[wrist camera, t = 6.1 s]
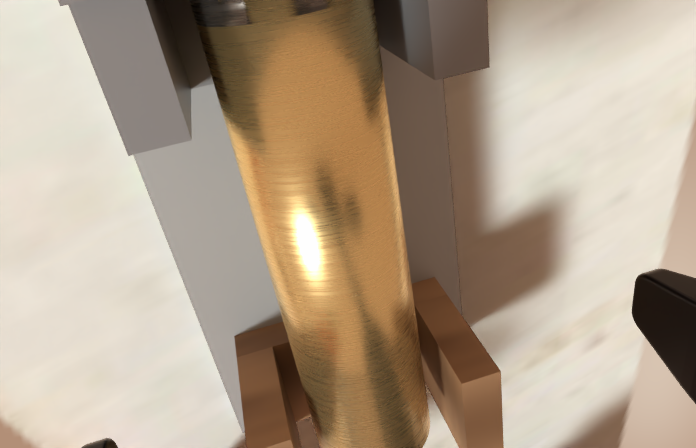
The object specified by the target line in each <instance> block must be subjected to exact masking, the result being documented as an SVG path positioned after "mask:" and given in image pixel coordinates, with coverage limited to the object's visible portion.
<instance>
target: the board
mask: <svg viewBox="0 0 696 448" xmlns="http://www.w3.org/2000/svg"><path fill="white" fill-rule="evenodd" d="M379 46H380V45H379ZM380 54H381V61H382V68H383V76H384V83H385V91H386V98H387V106H388V113H389V120H390V128H391V135H392V143H393V150H394V158H395V165H396V172H397V180H398V187H399V195H400V202H401V210H402V217H403V224H404V232H405V239H406V247H407V254H408V262H409V269H410V276H411V284H413V283H416V282H419V281H423V280H426V279H430V278H433V277H435V278H436V280H437V281H438V282H439V284H440V285H441V287H442V288H443V290H444V291H445V292H446V294H447V295H448V297H449V298H450V300H451V301H452V302H453V304H454V305H455V307H456V308H457V310H458V311H459V312H460V314H461V315H462V309H461V296H460V284H459V271H458V259H457V246H456V234H455V221H454V209H453V196H452V184H451V171H450V158H449V146H448V133H447V121H446V108H445V96H444V83H443V79H439V80H433V79H432V78H430V77H429V76H427V75H425V74H424V73H422V72H421V71H419V70H418V69H416V68H414V67H413V66H411V65H410V64H408V63H406V62H405V61H403V60H402V59H400V58H399V57H397V56H395V55H394V54H392V53H391V52H389V51H387V50H386V49H384V48H383V47H381V46H380ZM191 126H192V140H191V141H187V142H183V143H179V144H175V145H170V146H166V147H162V148H158V149H154V150H150V151H146V152H142V153H138V154H134V158H135V160H136V163H137V165H138V168H139V171H140V173H141V176H142V178H143V181H144V183H145V186H146V188H147V191H148V193H149V196H150V198H151V201H152V204H153V206H154V209H155V211H156V214H157V216H158V219H159V221H160V224H161V226H162V229H163V232H164V234H165V237H166V239H167V242H168V244H169V247H170V249H171V252H172V254H173V257H174V259H175V262H176V265H177V267H178V270H179V272H180V275H181V277H182V280H183V282H184V285H185V287H186V290H187V292H188V295H189V298H190V300H191V303H192V305H193V308H194V310H195V313H196V315H197V318H198V320H199V323H200V326H201V328H202V331H203V333H204V336H205V338H206V341H207V343H208V346H209V348H210V351H211V353H212V356H213V359H214V361H215V364H216V366H217V369H218V371H219V374H220V376H221V379H222V381H223V384H224V387H225V389H226V392H227V394H228V397H229V399H230V402H231V404H232V407H233V409H234V412H235V414H236V417H237V420H238V422H239V425H240V427H241V430H242V432H243V433H244V432H245V429H244V420H243V411H242V402H241V393H240V384H239V375H238V365H237V356H236V347H235V338H234V336H236V335H240V334H243V333H247V332H250V331H253V330H257V329H260V328H263V327H267V326H270V325H274V324H277V323H280V322H283V318H282V315H281V312H280V308H279V305H278V301H277V298H276V295H275V291H274V288H273V284H272V281H271V277H270V274H269V271H268V267H267V264H266V260H265V257H264V254H263V250H262V247H261V243H260V240H259V236H258V233H257V230H256V226H255V223H254V219H253V216H252V213H251V209H250V206H249V202H248V199H247V196H246V192H245V189H244V185H243V182H242V178H241V175H240V172H239V168H238V165H237V161H236V158H235V155H234V151H233V148H232V144H231V141H230V138H229V134H228V131H227V127H226V124H225V120H224V117H223V114H222V110H221V107H220V103H219V100H218V97H217V93H216V90H215V86H214V84H211V85H207V86H202V87H198V88H194V89H191Z"/></svg>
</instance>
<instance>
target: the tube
mask: <svg viewBox="0 0 696 448" xmlns="http://www.w3.org/2000/svg"><path fill="white" fill-rule="evenodd" d="M189 1H190V4H191V8H192V11H193V15H194V18H195V21H196V25H197V28H198V32H199V35H200V39H201V42H202V45H203V49H204V52H205V56H206V59H207V62H208V66H209V69H210V73H211V76H212V79H213V83H214V86H215V90H216V93H217V97H218V100H219V103H220V107H221V110H222V114H223V117H224V120H225V124H226V127H227V131H228V134H229V138H230V141H231V144H232V148H233V151H234V155H235V158H236V161H237V165H238V168H239V172H240V175H241V178H242V182H243V185H244V189H245V192H246V196H247V199H248V202H249V206H250V209H251V213H252V216H253V219H254V223H255V226H256V230H257V233H258V236H259V240H260V243H261V247H262V250H263V254H264V257H265V260H266V264H267V267H268V271H269V274H270V277H271V281H272V284H273V288H274V291H275V295H276V298H277V301H278V305H279V308H280V312H281V315H282V318H283V322H284V325H285V329H286V332H287V335H288V339H289V342H290V346H291V349H292V353H293V356H294V359H295V363H296V366H297V370H298V373H299V376H300V380H301V383H302V387H303V390H304V394H305V397H306V400H307V404H308V407H309V411H310V414H311V417H312V421H313V424H314V428H315V431H316V434H317V438H318V441H319V444H320V447H321V448H422V447H423V445H424V444H425V442H426V439H427V437H428V434H429V428H430V418H429V410H428V403H427V395H426V388H425V381H424V373H423V366H422V358H421V351H420V343H419V336H418V329H417V321H416V314H415V306H414V299H413V291H412V284H411V276H410V269H409V262H408V254H407V247H406V239H405V232H404V224H403V217H402V210H401V202H400V195H399V187H398V180H397V172H396V165H395V158H394V150H393V143H392V135H391V128H390V120H389V113H388V106H387V98H386V91H385V83H384V76H383V68H382V61H381V54H380V46H379V39H378V31H377V24H376V16H375V9H374V2H373V0H189Z"/></svg>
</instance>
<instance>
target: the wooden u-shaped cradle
mask: <svg viewBox="0 0 696 448" xmlns="http://www.w3.org/2000/svg"><path fill="white" fill-rule="evenodd" d="M412 291H413V299H414V306H415V314H416V321H417V329H418V336H419V343H420V351H421V358H422V366H423V373H424V381H425V383H426V384H427V386H428V388H429V390H430V392H431V394H432V396H433V398H434V400H435V402H436V404H437V406H438V408H439V410H440V412H441V413H442V415H443V417H444V419H445V421H446V423H447V425H448V427H449V429H450V431H451V433H452V435H453V437H454V439H455V441H456V442H457V444H458V446H459V448H503V422H502V395H501V371H500V370H499V368H498V367H497V365H496V364H495V363H494V361H493V360H492V358H491V357H490V355H489V354H488V353H487V351H486V350H485V348H484V347H483V345H482V344H481V343H480V341H479V340H478V338H477V337H476V335H475V334H474V333H473V331H472V330H471V328H470V327H469V325H468V324H467V322H466V321H465V320H464V318H463V317H462V315H461V314H460V312H459V311H458V310H457V308H456V307H455V305H454V304H453V302H452V301H451V300H450V298H449V297H448V295H447V294H446V292H445V291H444V290H443V288H442V287H441V285H440V284H439V282H438V281H437V280H436V278H435V277H433V278H430V279H426V280H423V281H419V282H416V283H413V284H412ZM234 338H235V347H236V356H237V365H238V375H239V384H240V393H241V402H242V411H243V420H244V429H245V438H246V447H247V448H302V447H301V443H300V438H299V434H298V429H297V424H296V421H299V420H303V419H306V418H309V417H311V414H310V411H309V407H308V404H307V400H306V397H305V394H304V390H303V387H302V383H301V380H300V376H299V373H298V370H297V366H296V363H295V359H294V356H293V353H292V349H291V346H290V342H289V339H288V335H287V332H286V329H285V325H284V322H280V323H277V324H274V325H270V326H267V327H263V328H260V329H257V330H253V331H250V332H247V333H243V334H240V335H236V336H234Z"/></svg>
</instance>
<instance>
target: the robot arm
mask: <svg viewBox="0 0 696 448" xmlns="http://www.w3.org/2000/svg"><path fill="white" fill-rule="evenodd" d="M632 316H633V319H634V321H635V323H636V325H637V326H638V328H639V329H640V330H641V332H642V333H643V335H644V336H645V337H646V339H647V340H648V341H649V343H650V344H651V345H652V347H653V348H654V350H655V351H656V352H657V354H658V355H659V356H660V358H661V359H662V360H663V362H664V363H665V364H666V366H667V367H668V369H669V370H670V371H671V373H672V374H673V375H674V377H675V378H676V380H677V381H678V382H679V384H680V385H681V386H682V388H683V389H684V390H685V391H686V393H687V394H688V395H689V396H690V398H691V399H692V400H693V401H694V402H695V404H696V278H693V277H689V276H686V275H683V274H679V273H676V272H672V271H669V270H666V269H655V270H652V271H649V272H646V273H642V274H640V275H639V276H638V277H637V279H636V281H635V288H634V296H633V304H632ZM82 448H118V447H117V445H116V443H115V442H114V441H113V440H112V439H110V438H106V439H102V440H99V441H96V442H93V443H89V444H86V445H84V446H83V447H82Z"/></svg>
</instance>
